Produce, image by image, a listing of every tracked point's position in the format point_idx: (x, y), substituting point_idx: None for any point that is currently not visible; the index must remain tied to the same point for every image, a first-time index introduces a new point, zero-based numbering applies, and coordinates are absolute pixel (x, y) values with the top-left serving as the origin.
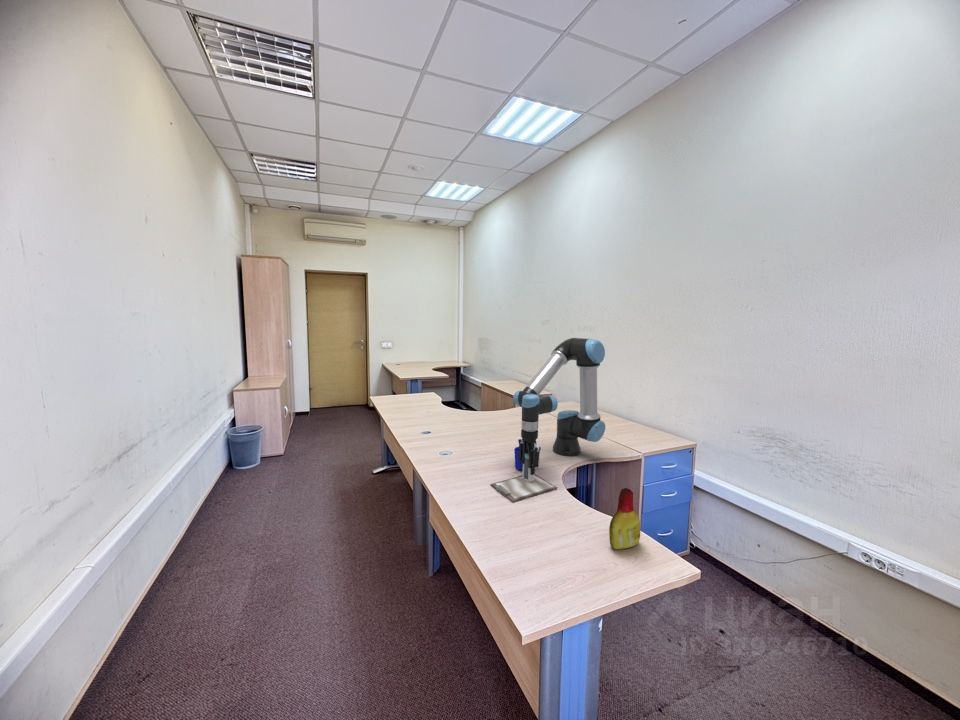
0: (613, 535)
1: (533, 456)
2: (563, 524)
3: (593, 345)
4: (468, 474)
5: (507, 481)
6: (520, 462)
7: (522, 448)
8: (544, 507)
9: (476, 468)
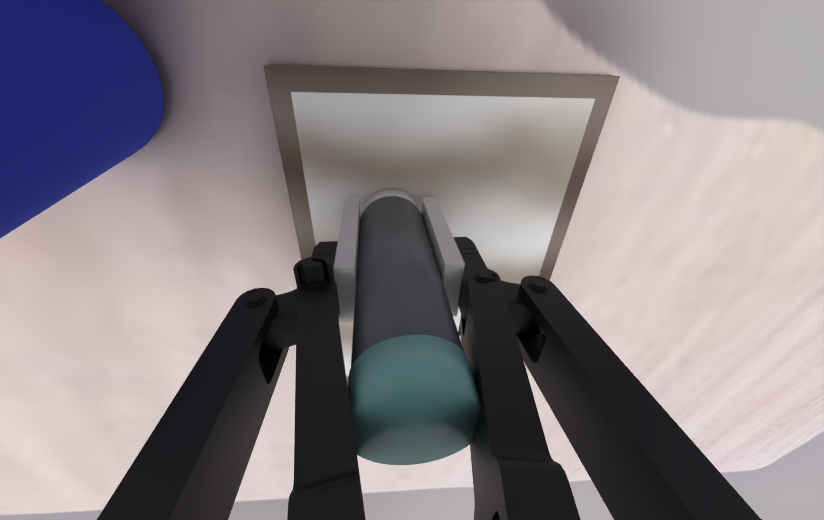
0: None
1: (590, 463)
2: (762, 299)
3: None
4: (160, 416)
5: (339, 324)
6: (104, 168)
7: (210, 505)
8: (641, 290)
9: (65, 371)
